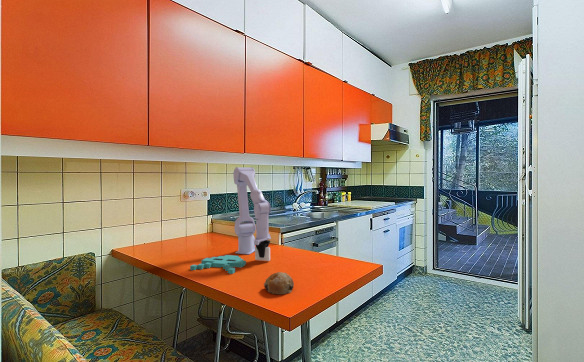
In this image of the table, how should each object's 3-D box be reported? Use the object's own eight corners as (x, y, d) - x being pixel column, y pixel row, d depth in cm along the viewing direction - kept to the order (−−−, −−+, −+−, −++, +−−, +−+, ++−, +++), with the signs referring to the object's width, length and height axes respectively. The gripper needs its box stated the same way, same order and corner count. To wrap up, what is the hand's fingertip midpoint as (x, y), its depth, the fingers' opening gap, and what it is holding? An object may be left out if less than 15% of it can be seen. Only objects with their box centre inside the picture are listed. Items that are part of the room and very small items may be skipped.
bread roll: (281, 306, 108) (290, 287, 107) (257, 290, 111) (265, 271, 110) (292, 295, 117) (301, 277, 116) (269, 281, 121) (277, 263, 119)
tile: (256, 258, 151) (256, 246, 151) (270, 260, 149) (270, 247, 149) (255, 259, 150) (255, 247, 150) (268, 261, 148) (268, 248, 147)
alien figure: (232, 275, 131) (251, 261, 151) (232, 269, 131) (251, 256, 150) (190, 271, 137) (213, 258, 156) (190, 266, 137) (213, 254, 156)
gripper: (264, 231, 141) (264, 261, 141) (276, 225, 154) (276, 253, 155) (249, 230, 143) (250, 260, 143) (262, 224, 157) (262, 252, 157)
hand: (262, 256), depth 149 cm, fingers closed on tile, 2 cm apart
